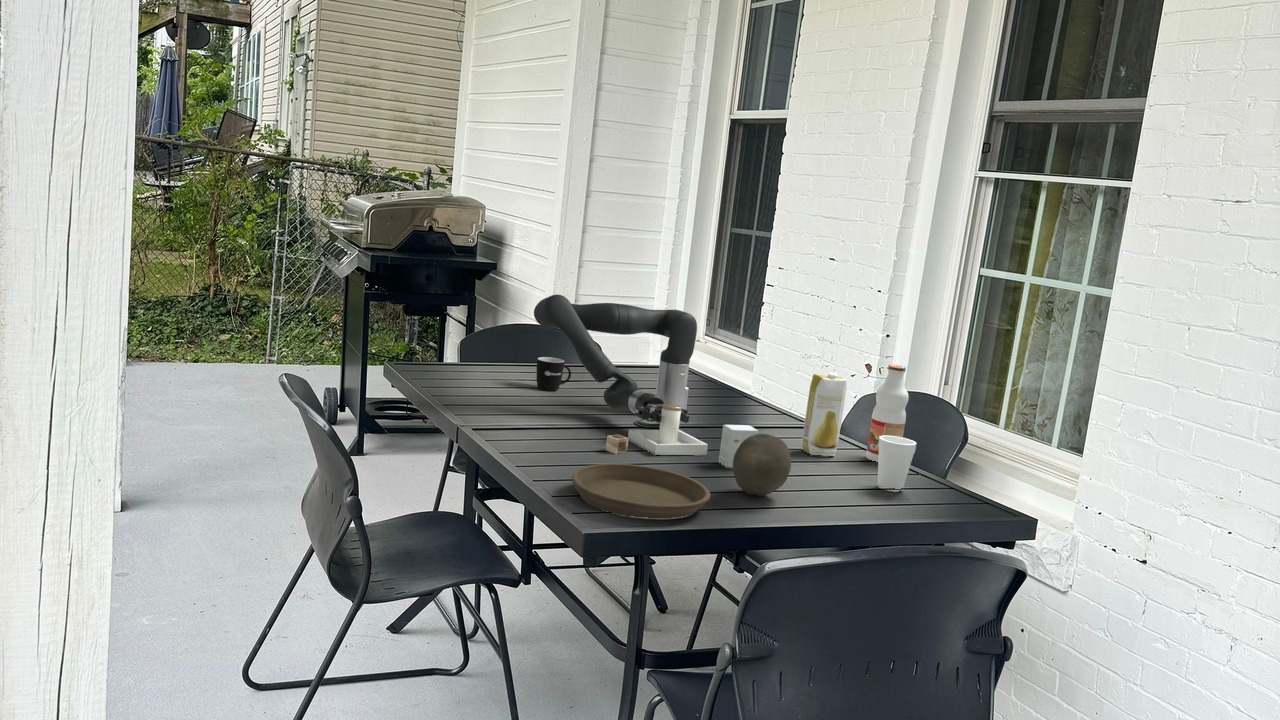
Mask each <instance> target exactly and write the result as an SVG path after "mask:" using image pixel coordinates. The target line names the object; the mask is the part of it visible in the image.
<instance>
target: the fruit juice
mask: <svg viewBox="0 0 1280 720" xmlns="http://www.w3.org/2000/svg"><path fill="white" fill-rule="evenodd" d="M906 369H907V368H906V366H903V365H900V364H899V365H898V364H888V366H887V372H888V373H887V376H886V378H885V380H884V382H883V383H882V385H880V386H879V387H878V388H877V391H876V393H875V400H876V404H875V406H874V408H873V409H872V410H873V411H872V415H871V420H870V428H869V434H868V440H867V446H866V451H865V452H866V454H865V457H866V459H867V460H868V459H869V460H868V461H870V460H872V461H871V462H873V461H876V462H875V463H877V462H878V458H879V447H878V443H879V437H880V436H897V437H902V438H904V432H905V425H906V417H907V413H906V412H907V411H906V406H907V404H908V402H909V392H908V391H907V389H906V386H905V381H904V375H905V373H906Z"/></svg>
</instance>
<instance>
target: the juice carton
mask: <svg viewBox="0 0 1280 720" xmlns="http://www.w3.org/2000/svg"><path fill="white" fill-rule="evenodd" d="M846 394H847V379H846V378H843V377H841V376H840V375H839V376H838V374H837V373H835V372H828V374H827V375H824V374H819V373H813V375H812V378H811V383H810V386H809V392H808V397H807V406H806V409H805V410H806V413H805V417H804V425H803V430H802V431H803V432H802V440H801V449H802V451H803V450H804V451H803V452H805V451H806V452H807V454H808V453H809V454H811V455H810V456H812V455H827V456H826V457H828V456H834V457H835V456H836V452H837V449H838V445H839V440H840V433H841V427H842V421H843V414H844V407H845V400H846ZM806 452H805V453H806ZM809 454H808V455H809Z"/></svg>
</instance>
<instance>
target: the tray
mask: <svg viewBox="0 0 1280 720" xmlns="http://www.w3.org/2000/svg"><path fill="white" fill-rule="evenodd" d="M627 435H628V436H627V438H629V439H628V442H630V443H632V444H633V443H634V444H633V445H635V444H636V445H635V446H637V445H638V446H637V447H639V448H640V447H641V448H640V449H642V448H643V449H642V450H644V449H645V450H647V451H648V452H647V451H646V452H647V453H649V452H651V453H652V454H654V455H694V456H707V455H708V454H707V453H708V446H709V444H708V443H706V442H704V441H701V440H700V439H698V438H696V437H694V436H692V435H691V434H689V433H687V432H684V431H683V430H681V429H679V430H678V438H677V444H658V437H659V429H628V434H627ZM645 450H644V451H645ZM651 453H650V454H651ZM652 454H651V455H652ZM654 455H653V456H654Z"/></svg>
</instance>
